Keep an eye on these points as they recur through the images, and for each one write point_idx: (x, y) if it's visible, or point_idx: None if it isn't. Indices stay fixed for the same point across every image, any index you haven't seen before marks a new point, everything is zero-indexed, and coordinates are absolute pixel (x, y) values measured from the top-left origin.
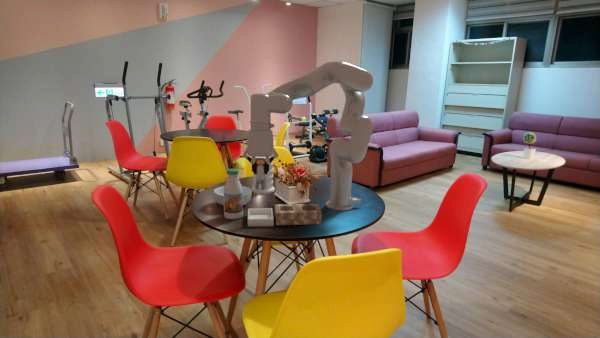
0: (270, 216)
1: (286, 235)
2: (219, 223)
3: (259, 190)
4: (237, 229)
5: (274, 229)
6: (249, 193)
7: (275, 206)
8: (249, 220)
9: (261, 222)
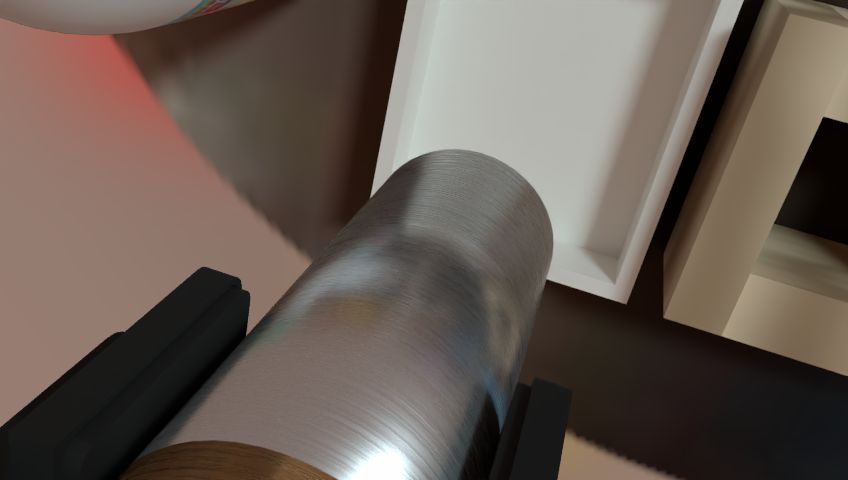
0: (679, 65)
1: (660, 470)
2: (152, 30)
3: None
4: (296, 216)
5: (608, 334)
6: None
7: (756, 105)
8: None
9: None
